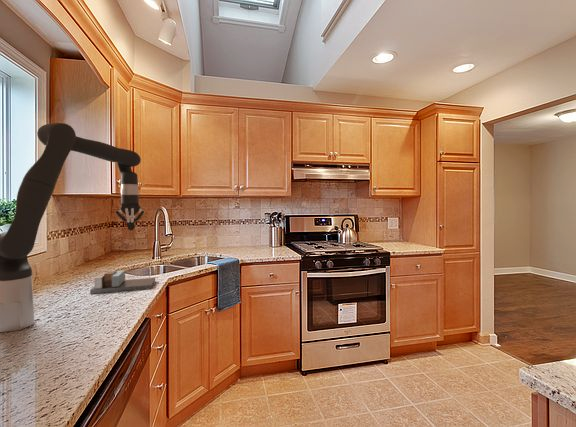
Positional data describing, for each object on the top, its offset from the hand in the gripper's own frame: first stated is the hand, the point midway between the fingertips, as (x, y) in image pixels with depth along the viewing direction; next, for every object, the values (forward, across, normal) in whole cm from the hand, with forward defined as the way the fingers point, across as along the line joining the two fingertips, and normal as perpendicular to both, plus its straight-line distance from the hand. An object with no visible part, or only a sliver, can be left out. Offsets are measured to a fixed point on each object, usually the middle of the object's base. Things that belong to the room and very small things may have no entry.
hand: (131, 230), depth 145 cm
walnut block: (+27, +11, -6) cm, 30 cm away
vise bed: (+29, +5, -6) cm, 30 cm away
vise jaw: (+27, +8, -6) cm, 28 cm away
